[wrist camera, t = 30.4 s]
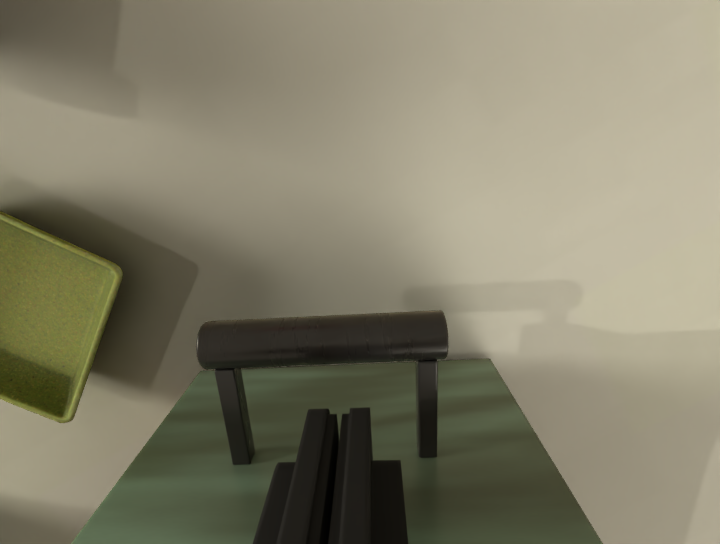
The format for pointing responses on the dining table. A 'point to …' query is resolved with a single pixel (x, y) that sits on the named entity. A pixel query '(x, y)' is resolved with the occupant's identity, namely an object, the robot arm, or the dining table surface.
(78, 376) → the green square tray
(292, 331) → the drawer
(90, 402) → the dining table surface
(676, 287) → the dining table surface
